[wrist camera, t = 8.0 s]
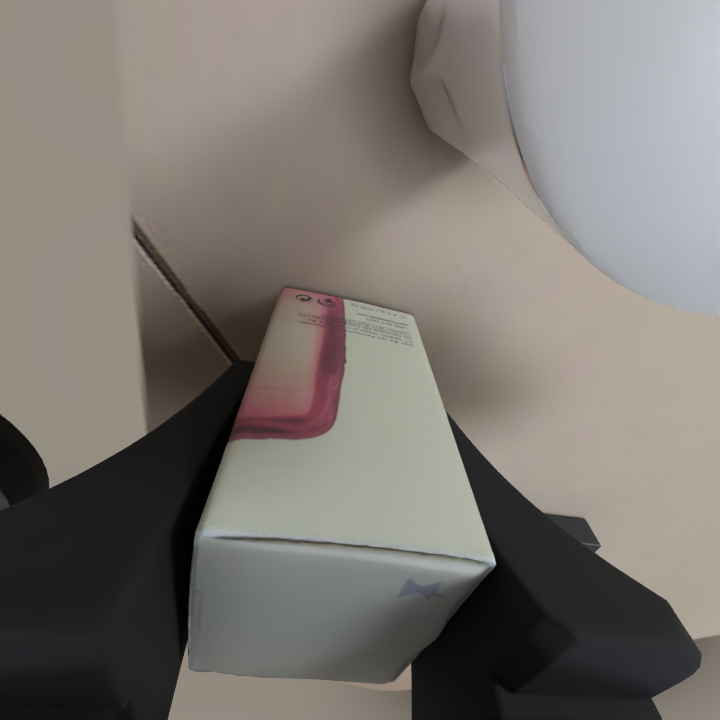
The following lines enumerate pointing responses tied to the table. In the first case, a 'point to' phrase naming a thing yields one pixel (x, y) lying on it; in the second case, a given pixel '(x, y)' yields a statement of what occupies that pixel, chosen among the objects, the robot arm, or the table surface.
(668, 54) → the milkshake
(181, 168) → the table surface
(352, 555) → the small box
